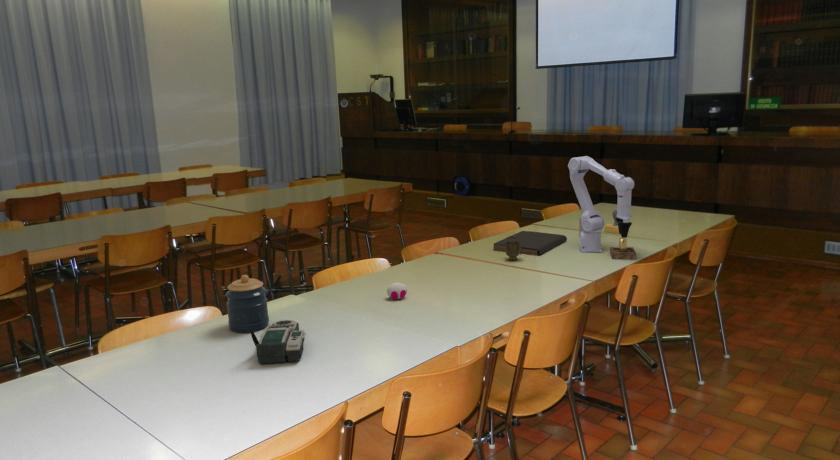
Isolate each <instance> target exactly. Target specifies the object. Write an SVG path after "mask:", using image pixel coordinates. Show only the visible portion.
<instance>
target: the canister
mask: <svg viewBox="0 0 840 460" xmlns="http://www.w3.org/2000/svg"><path fill="white" fill-rule="evenodd" d="M227 289H228V291H226V293H225V297H226V298H227V302H226V307H227V309H226V310H227V317H228V318H227V319H228V322H227V323H228V328H229V329H230V331H232V332H234V333H243V334H245V333H250V330H253V332H258V331H261V330H264V329H266V328H268V327H269V325H270V324H269V323H270V316H269V310H268V297H266V293H267V288H266V287H264V282H263V281H261V280H259V279H258V278H257V279H256V278H253V277H251V278H250V277H249V275H247V274H242V275H241V277H240V278H239V279H236V280H234V281H232V282H231V283H230V284H229V285H227Z"/></svg>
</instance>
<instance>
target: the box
mask: <svg viewBox="0 0 840 460" xmlns="http://www.w3.org/2000/svg"><path fill="white" fill-rule="evenodd" d="M609 255H610V257H611V259H612V260H637V252H636V250H635V248H634V247H632V246H630V247H629V246H626V252H619V246H610V247H609Z"/></svg>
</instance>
